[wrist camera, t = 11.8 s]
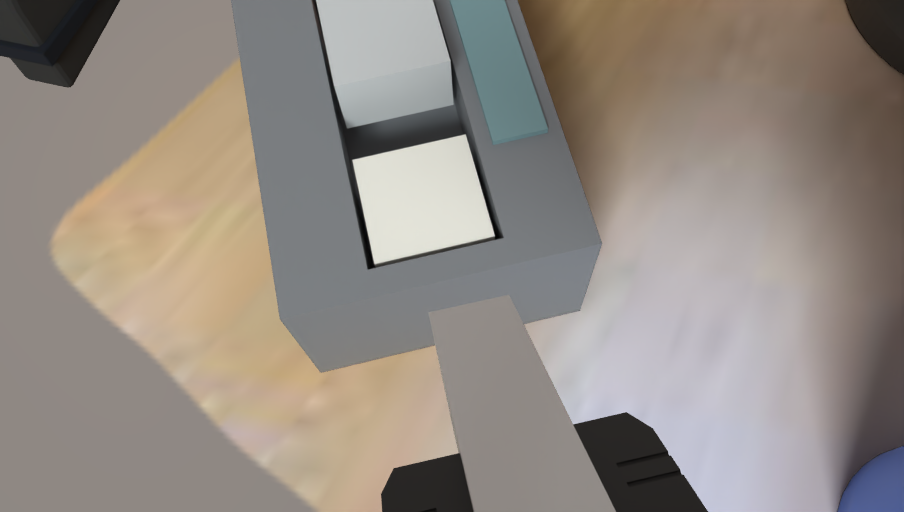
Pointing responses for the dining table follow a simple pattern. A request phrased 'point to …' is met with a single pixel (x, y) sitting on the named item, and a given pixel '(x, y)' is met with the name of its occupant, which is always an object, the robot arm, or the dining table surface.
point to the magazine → (52, 36)
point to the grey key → (385, 58)
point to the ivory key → (422, 201)
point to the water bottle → (877, 485)
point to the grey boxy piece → (335, 146)
